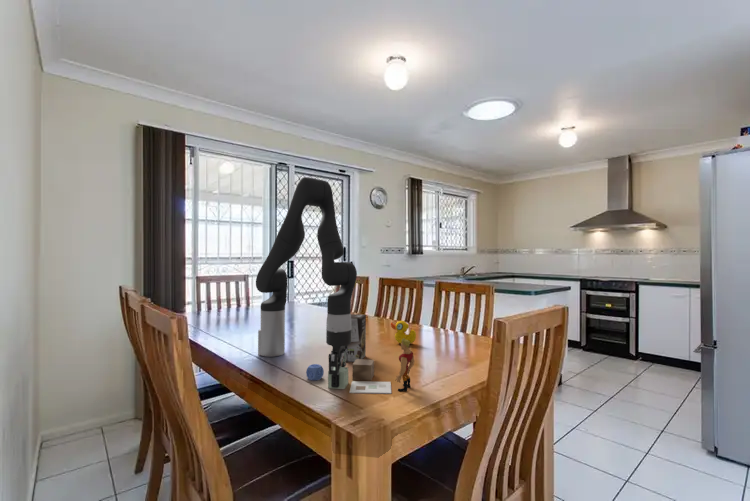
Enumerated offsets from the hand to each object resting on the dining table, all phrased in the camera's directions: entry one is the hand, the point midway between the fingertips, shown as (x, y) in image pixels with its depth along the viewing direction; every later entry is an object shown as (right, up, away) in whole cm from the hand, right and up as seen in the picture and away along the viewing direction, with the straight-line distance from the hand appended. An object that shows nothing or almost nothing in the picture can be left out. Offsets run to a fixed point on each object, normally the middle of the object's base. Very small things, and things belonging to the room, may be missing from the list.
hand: (338, 382), depth 117 cm
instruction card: (+10, -1, -2) cm, 10 cm away
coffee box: (+4, -1, +29) cm, 29 cm away
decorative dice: (-8, -1, +6) cm, 10 cm away
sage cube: (0, -1, 0) cm, 1 cm away
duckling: (+24, -1, +52) cm, 57 cm away
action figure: (+20, -1, -2) cm, 20 cm away
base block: (+7, -1, +8) cm, 11 cm away
